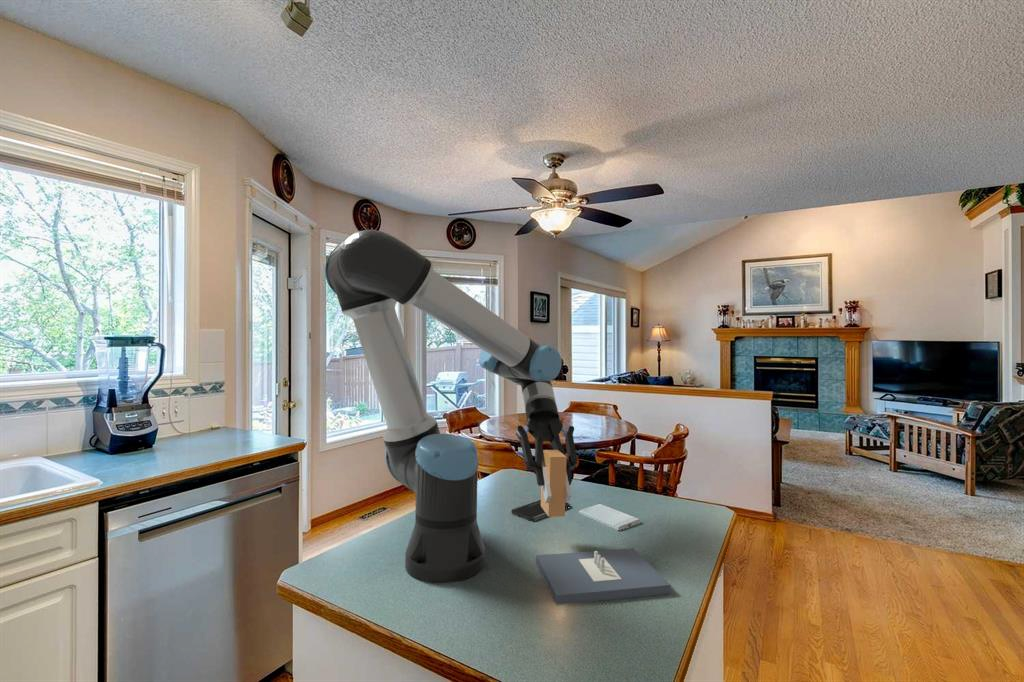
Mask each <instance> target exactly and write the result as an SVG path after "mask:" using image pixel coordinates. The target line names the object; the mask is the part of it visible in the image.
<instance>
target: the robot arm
mask: <svg viewBox="0 0 1024 682" xmlns="http://www.w3.org/2000/svg"><path fill="white" fill-rule="evenodd" d="M433 265H434V263H433V262H432V261H431V260H430V259H428V258H426V257H425V256H424V255H422V254H421V253H420V252H418V251H417V250H415V249H414V248H413V247H411V246H409V244H406V242H403V241H402V240H400V239H399V238H397V237H395V236H393V235H391V234H389V233H387V232H384V231H381V230H376V229H364V230H359V231H357V232H354V233H353V234H351V235H350V236H348V237H347V238H346V239H345V240H344V241H341V242H340V243H339V244H337V245H336V246H335V247H334V248H333V249H332V250H331V251H330V252H329V255H328V256H327V259H326V262H325V265H324V276H325V281H326V282H327V285H328V286H329V288H330V290H331V291H332V292H333V293H334V294H335V295H336V297H337V300H338V304H339V305H340V309H341V313H343V314H344V315H346V316H348V317H350V318H351V319H352V321H353V324H354V327H355V330H356V333H357V336H358V339H359V340H358V341H359V342H360V346H361V349H362V351H363V355H364V358H365V361H366V364H367V367H368V370H369V374H370V377H371V380H372V383H373V386H374V390H375V393H376V396H377V399H378V401H379V405H380V408H381V412H382V414H383V417H384V421H385V424H386V429H385V431H384V433H383V436H382V439H383V442H384V445H385V448H386V449H385V453H384V454H385V455H384V460H385V461H384V462H385V465H386V468H387V469H388V471H389V473H390V475H391V476H392V478H394V479H395V481H397V482H398V483H400V484H401V485H403V486H405V487H406V488H408V489H409V490H410V491H412V492H413V493H414V494H415V520H414V521H415V522H414V526H413V529H412V532H411V535H410V538H409V540H408V544H407V547H406V551H405V555H404V559H405V561H404V562H405V563H404V567H405V570H406V571H407V573H408V574H409V575H411V576H412V577H414V578H416V579H418V580H421V581H424V582H429V583H430V582H431V583H450V582H451V583H452V582H457V581H461V580H465V579H467V578H470V577H472V576H474V575H476V574H478V573H479V572H480V571H481V570H482V569H484V566H485V564H486V546H485V543H484V540H483V536H482V533H481V530H480V527H479V523H478V520H477V519H478V518H477V517H478V515H477V513H478V511H477V510H478V476H479V475H478V472H479V471H478V470H479V458H478V457H479V455H478V447H477V445H476V444H475V443H474V441H472V439H469V438H467V437H465V436H463V435H455V434H453V433H441V432H440V428H439V425H438V421H437V419H436V417H434V416H431V415H429V414H428V413H427V410H426V407H425V404H424V400H423V397H422V393H421V390H420V386H419V384H418V381H417V377H416V373H415V370H414V366H413V363H412V361H411V357H410V354H409V351H408V348H407V344H406V341H405V337H404V333H403V331H402V327H401V325H400V321H399V317H398V315H397V311H396V305H397V303H399V304H400V305H402V306H406V305H412V306H414V307H415V308H417V309H419V310H420V311H421V312H423V313H425V314H426V315H428V316H429V317H431V318H432V319H434V320H436V321H437V322H439V323H440V324H441V325H443V326H445V327H446V328H448V329H449V330H451V331H453V332H454V333H456V334H457V335H459V336H460V337H462V338H464V339H466V340H467V341H469V342H470V343H471V344H473V345H475V346H476V347H477V348H480V349H481V350H480V353H479V355H478V363H479V365H480V367H481V368H483V369H484V370H487V371H488V372H489V373H491V374H495V375H497V376H499V377H501V378H504V379H506V380H509V381H511V382H512V383H515V384H517V385H519V386H520V387H521V392H522V398H523V405H524V408H525V409H524V411H525V417H526V424H525V425H524V426H523V425H518V426H517V429H516V432H515V435H516V436H517V438H518V440H519V442H520V446H521V451H522V455H523V460H524V464H525V468H526V469H525V470H527V471H533V473H534V475H535V478H536V484H537V485H538V486H539V487H541V486H542V487H543V493H544V499H545V503H549V501H550V499H551V490H550V485H549V479H548V474H547V468H546V467H543V468H542V463H543V450H544V449H543V448H544V446H543V445H544V442H549V445H550V446H551V447H552V450H559V451H560V452H561V453H562V454H564V455H565V456H566V457H567V462H566V492H565V502H566V503H569V502H570V500H571V498H572V493H571V487H570V486H571V484H572V482H573V476H572V472H571V470H573V471H574V470H575V468H576V466H577V464H578V459H577V453H576V445H575V440H574V432H575V427H574V426H573V425H569V426H566V425H564V423H563V422H562V421H561V419H560V415H559V410H558V405H557V400H556V396H555V392H554V388H553V385H552V380H554V379H556V378H557V377H558V375H559V374H560V372H561V368H562V364H563V362H562V361H563V360H562V357H561V354H560V352H559V351H558V350H557V349H556V348H554V347H553V346H549V345H545V344H541V345H540V344H539V343H537V342H535V340H533V339H532V338H530V337H528V336H526V334H524V333H522V332H521V331H520V330H519V329H517V328H516V327H514V326H513V325H511V324H510V323H509V322H507V321H506V320H505V319H503V318H501V317H500V316H498V315H497V314H496V313H495V312H493V311H492V310H491V309H489V308H488V307H486V306H484V305H483V304H482V303H480V302H479V301H478V300H476V299H475V298H473V297H472V296H471V295H469V294H467V293H466V292H465V291H464V290H462V289H461V288H460V287H457V286H456V285H455V284H454V283H452V282H451V281H450V280H448V279H447V278H445V277H444V276H442V275H441V274H440V273H438V272H437V271H436V270H434V266H433ZM561 432H562V435H563V437H564V438H565V440H564V442H565V449H566V451H565V449H564V447H563V444H562V442H561V440H560V438H561V437H560V433H561ZM528 434H530V436H532V437H533V438H534V446H535V447H534V449H535V450H534V457H533V453H532V449H531V444H530V440H529V435H528Z"/></svg>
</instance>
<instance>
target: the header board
mask: <svg viewBox="0 0 1024 682" xmlns="http://www.w3.org/2000/svg"><path fill="white" fill-rule="evenodd" d="M535 564H536V567H537V568H538V570H539V572H540V575H541V576H542V578H543V580H544V582H545V584H546V587H547V588H548V591H549V593H550V594H551V596H552V598H553V600H554V603H555V604H556V605H557V606H558V605H568V604H578V603H587V602H588V603H589V602H601V601H607V600H608V601H609V599H610V600H618V599H628V598H629V599H630V598H639V597H640V598H641V597H651V596H663V595H670V594H671V583H669V582H668V580H666V578H665V577H663V576H662V575H661V574H660V573H659V571H657V570H656V569H655V568H654V567H653V566H652V565H651V564H650V563H649V562H648V561H647V560H646V559H645V558H644V557H643V556H642V555H641V554H640V553H639V552H638V551H637V550H636V549H635V548H634V547H632V548H631V547H630V548H618V549H617V548H616V549H605V550H603V549H602V550H590V551H577V552H568V553H567V552H564V553H563V552H561V553H552V554H550V553H549V554H540V555H539V554H537V555H535Z"/></svg>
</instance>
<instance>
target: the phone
mask: <svg viewBox="0 0 1024 682" xmlns="http://www.w3.org/2000/svg"><path fill="white" fill-rule="evenodd" d="M568 507H570V508H571V504H570V503H569V502H565V509H566V508H568ZM510 513H512V514H513V515H512V514H511V515H512V516H515V517H517V516H519V517H521V518H520V519H522V518H523V520H525V519H526V520H525V521H527V520H528V521H527V522H530V521H535V522H537V521H536V520H538V521H540V520H542V519H541V518H543V519H545V518H547V517H546V516H548V515H547V514H546V512H545V511H544V510H543V508H542V507H541V499H539V500H536V501H533V502H530V503H527V504H524V505H522V506H518V507H515V508H512V509H511V511H510ZM544 517H545V518H544ZM539 519H540V520H539Z"/></svg>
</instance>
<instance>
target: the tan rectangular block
mask: <svg viewBox="0 0 1024 682" xmlns="http://www.w3.org/2000/svg"><path fill="white" fill-rule="evenodd" d="M566 456H567V455H566ZM566 456H565V455H564V454H562V453H561V452H560V451H559V450H554V449H543V463H542V468H543V467H546V468H547V474H548V479H549V485H550V490H551V499H550V501H549V503H545V499H544V493H543V487H542V486H540V487H541V488H540V489H541V490H540V500H541V507H542V508H543V510H544V511H545V512H546V514H547V515H548V517H549V518H550V517H551V518H553V517H565V516H566V510H565V492H566V462H567V459H568V457H566ZM548 517H547V518H548Z"/></svg>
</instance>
